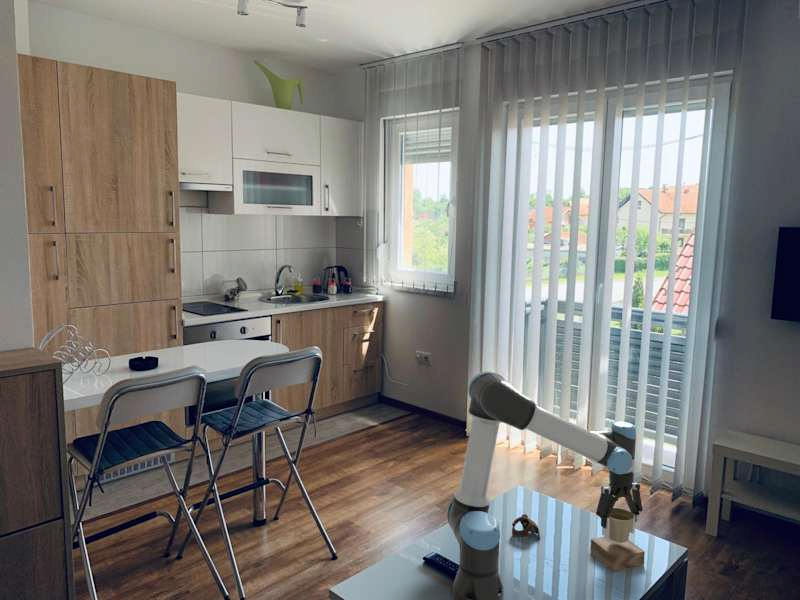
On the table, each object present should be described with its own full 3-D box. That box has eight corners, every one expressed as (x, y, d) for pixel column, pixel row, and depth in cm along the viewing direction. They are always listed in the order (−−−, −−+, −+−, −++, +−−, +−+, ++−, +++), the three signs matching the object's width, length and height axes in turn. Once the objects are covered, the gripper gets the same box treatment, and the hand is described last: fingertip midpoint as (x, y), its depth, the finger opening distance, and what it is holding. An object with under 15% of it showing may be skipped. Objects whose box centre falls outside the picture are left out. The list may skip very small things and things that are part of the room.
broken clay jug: (544, 545, 208) (535, 528, 206) (519, 554, 210) (510, 537, 208) (538, 521, 219) (529, 504, 217) (514, 529, 221) (505, 513, 219)
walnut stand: (613, 571, 191) (613, 557, 191) (590, 552, 203) (591, 538, 202) (643, 565, 195) (644, 551, 195) (619, 547, 206) (620, 533, 206)
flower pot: (596, 534, 200) (598, 510, 199) (617, 529, 204) (619, 505, 203) (617, 548, 192) (619, 522, 191) (639, 542, 196) (640, 517, 195)
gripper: (600, 477, 188) (597, 544, 191) (657, 469, 195) (653, 534, 198) (586, 468, 195) (583, 533, 198) (641, 461, 202) (637, 523, 205)
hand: (618, 533), depth 198 cm, fingers closed on flower pot, 9 cm apart
